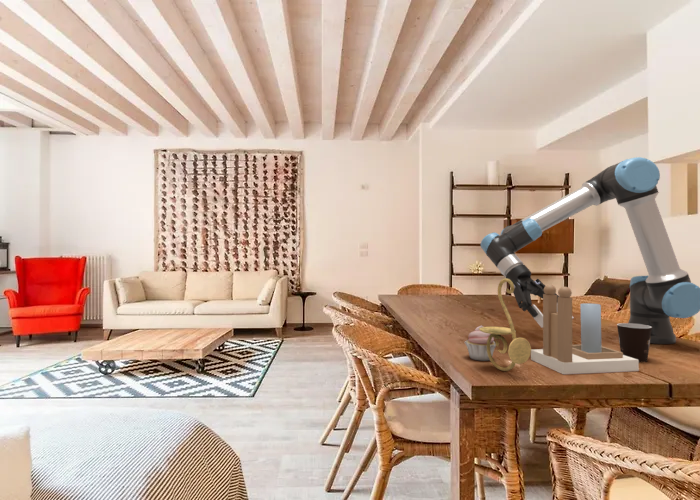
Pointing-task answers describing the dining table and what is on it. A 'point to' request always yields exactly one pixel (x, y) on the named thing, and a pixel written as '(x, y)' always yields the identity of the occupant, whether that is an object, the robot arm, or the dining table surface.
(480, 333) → the cupcake
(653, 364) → the dining table surface
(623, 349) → the coffee mug
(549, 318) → the peg insertion fixture
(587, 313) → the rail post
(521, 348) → the wall sconce
